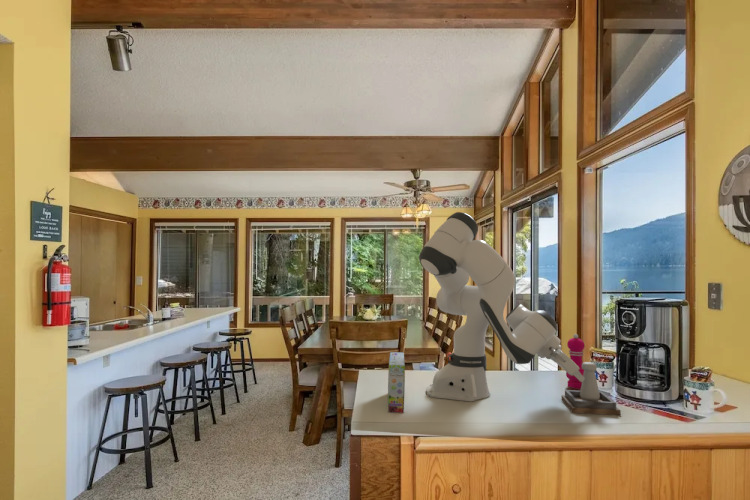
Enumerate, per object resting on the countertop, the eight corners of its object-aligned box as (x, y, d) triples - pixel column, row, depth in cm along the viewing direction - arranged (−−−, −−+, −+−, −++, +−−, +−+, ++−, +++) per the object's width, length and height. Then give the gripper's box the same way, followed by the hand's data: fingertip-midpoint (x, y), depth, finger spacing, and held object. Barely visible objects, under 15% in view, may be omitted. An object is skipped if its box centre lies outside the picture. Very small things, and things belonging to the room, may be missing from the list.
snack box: (405, 413, 134) (405, 365, 134) (387, 413, 134) (387, 364, 135) (404, 393, 155) (404, 351, 155) (388, 392, 155) (388, 351, 156)
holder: (572, 412, 134) (572, 401, 134) (561, 399, 147) (561, 389, 147) (620, 415, 132) (620, 403, 132) (605, 401, 145) (604, 391, 145)
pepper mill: (563, 386, 163) (562, 333, 164) (571, 382, 168) (570, 331, 169) (582, 390, 158) (581, 336, 159) (590, 386, 163) (589, 334, 163)
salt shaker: (602, 406, 136) (601, 365, 136) (583, 405, 137) (582, 364, 137) (596, 400, 141) (595, 361, 142) (577, 399, 142) (577, 360, 143)
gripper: (562, 344, 132) (596, 377, 130) (546, 334, 152) (575, 362, 150) (547, 358, 132) (581, 391, 131) (533, 346, 153) (562, 374, 151)
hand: (578, 376), depth 141 cm, fingers open, 8 cm apart
